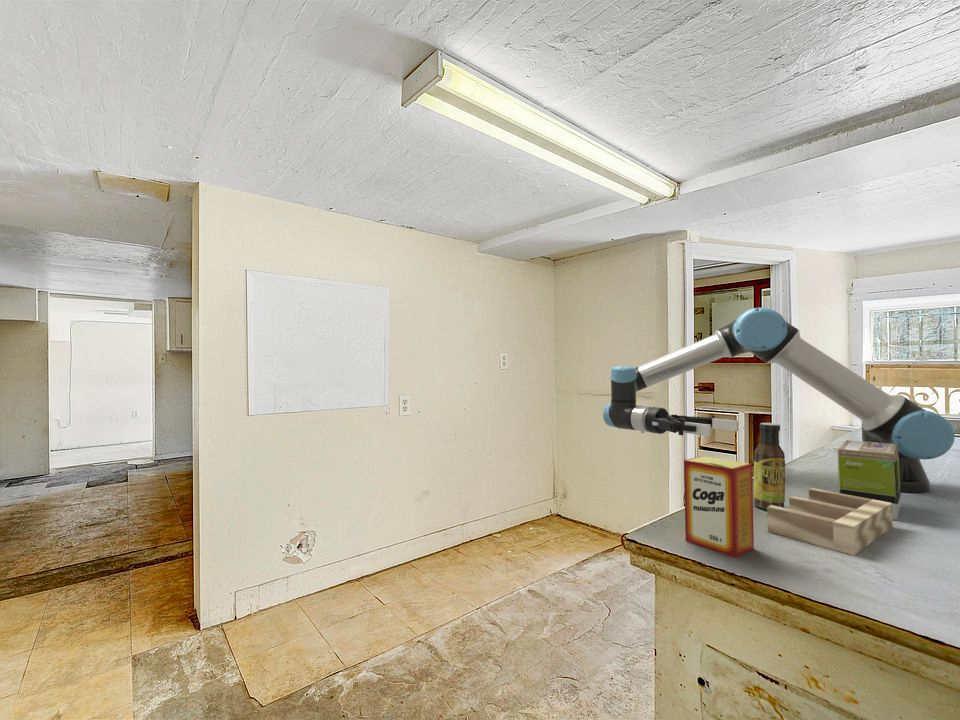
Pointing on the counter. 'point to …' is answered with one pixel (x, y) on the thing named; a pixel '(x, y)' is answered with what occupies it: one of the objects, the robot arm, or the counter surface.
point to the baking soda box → (719, 504)
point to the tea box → (870, 472)
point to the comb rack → (832, 520)
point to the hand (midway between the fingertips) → (724, 428)
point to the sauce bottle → (769, 468)
